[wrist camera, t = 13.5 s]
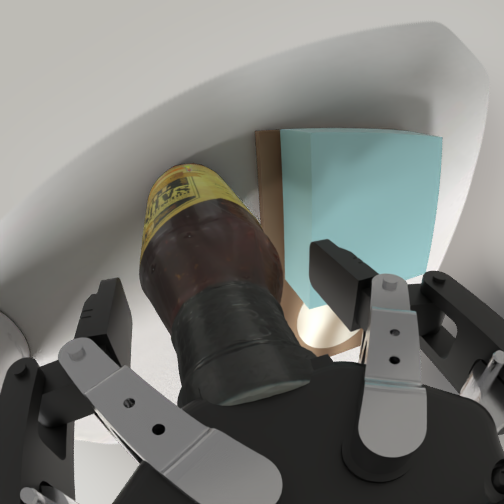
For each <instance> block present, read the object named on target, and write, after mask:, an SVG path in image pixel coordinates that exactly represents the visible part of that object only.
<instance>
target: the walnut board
mask: <svg viewBox="0 0 504 504" xmlns="http://www.w3.org/2000/svg"><path fill="white" fill-rule="evenodd" d="M255 140H256V155H257V171H258V187H259V203H260V220H261V227H262V229H263V231H264V233H265V234H266V235H267V236H268V237H269V238H270V240H271V242H272V244H273V245H274V247H275V248H276V250H277V252H278V254H279V257H280V261H281V265H282V269H283V278H284V280H283V293H282V298H281V303H280V305H281V307H282V309H283V312H284V317H285V320H286V321H287V323H288V325H289V327H290V328H291V330H292V331H293V333H294V334H295V337H296V338H297V340H298V341H299V344H300V345H301V346H302V347H304V348H306V349H308V350H310V351H312V352H313V353H314V354H315V355H316V356H317V357H319V356H322V355H325V354H328V355H329V356H333V355H336V354H339V353H342V352H344V351H347V350H350V349H352V348H355V347H358V346H360V345H361V340H362V334H363V329H362V328H361V329H358V330H355V331H352V332H350V331H349V329H348V328H347V327H346V326H345V325H344V324H343V322H342V321H341V320H340V319H339V318H338V316H337V315H336V314H335V313H334V312H333V311H332V309H331V308H330V307H329V306H328V305H323V306H320V307H316V308H313V309H309V308H308V307H307V306H306V305H305V303H304V302H303V301H302V300H301V298H300V297H299V296H298V295H297V293H296V292H295V291H294V290H293V288H292V287H291V286H290V285H289V283H288V282H287V281H286V280H285V249H284V211H283V182H282V158H281V138H280V130H264V131H255Z"/></svg>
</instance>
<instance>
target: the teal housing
mask: <svg viewBox="0 0 504 504" xmlns="http://www.w3.org/2000/svg"><path fill="white" fill-rule="evenodd" d="M280 138H281V158H282V182H283V211H284V249H285V280H286V281H287V282H288V283H289V285H290V286H291V287H292V288H293V290H294V291H295V292H296V293H297V295H298V296H299V297H300V298H301V300H302V301H303V302H304V303H305V305H306V306H307V307H308V308H309V309H313V308H316V307H320V306H323V305H327V304H326V302H325V301H324V300H323V299H322V298H321V297H320V295H319V294H318V293H317V292H316V291H315V290H314V289H313V287H312V285H311V283H310V280H309V247H310V243H311V242H313V241H319V240H324V239H329V240H330V241H332V242H333V243H334V244H335V245H337V246H338V247H339V248H340V247H341V248H343V249H346V250H348V251H351V252H352V253H353V254H354V255H356V256H357V257H358V258H360V259H361V260H362V261H363V263H364V262H365V263H366V264H367V265H369V266H370V267H371V268H372V269H374V270H375V271H376V272H377V273H379V274H385V273H387V274H394V275H397V276H400V277H401V278H403V279H404V280H407V279H410V278H413V277H416V276H419V275H422V274H424V273H426V268H427V263H428V258H429V253H430V248H431V242H432V237H433V231H434V224H435V218H436V210H437V202H438V194H439V184H440V173H441V158H442V137H438V136H433V135H428V134H422V133H416V132H410V131H404V130H389V129H366V128H301V129H280Z"/></svg>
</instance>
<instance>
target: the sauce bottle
mask: <svg viewBox="0 0 504 504" xmlns="http://www.w3.org/2000/svg"><path fill="white" fill-rule="evenodd" d="M139 277H140V283H141V286H142V289H143V291H144V293H145V295H146V296H147V297H148V299H149V300H150V302H151V303H152V305H153V307H154V308H155V310H156V312H157V314H158V315H159V317H160V319H161V320H162V322H163V324H164V325H165V327H166V328H167V330H168V332H169V333H170V335H171V340H172V344H173V347H174V349H175V351H176V353H177V358H178V368H179V375H180V381H181V385H182V388H181V390H180V393H179V396H178V401H177V406H178V407H179V408H180V409H181V408H182V407H184V406H185V405H187V404H188V403H190V402H192V401H194V400H196V399H199V398H200V393H201V396H202V398H203V400H204V399H207V400H208V402H210V403H212V404H216V405H222V406H232V405H238V404H242V403H246V402H252V401H256V400H259V399H263V398H267V397H271V396H273V395H276V394H281V393H284V392H287V391H290V390H293V389H296V388H299V387H301V386H304V385H306V384H308V383H309V382H310V380H311V375H312V371H313V370H314V369H313V368H312V364H311V361H310V359H313V358H316V357H317V356H316V355H315V354H314V353H313V352H312V351H310V350H308V349H306V348H304V347H302V346H301V345H300V344H299V341H298V340H297V338H296V337H295V334H294V333H293V331H292V330H291V328H290V327H289V325H288V323H287V321H286V320H285V317H284V312H283V309H282V307H281V305H280V303H281V298H282V293H283V280H284V278H283V269H282V265H281V261H280V257H279V254H278V252H277V250H276V248H275V247H274V245H273V244H272V242H271V240H270V238H269V237H268V236H267V235H266V234H265V233H264V231H263V229H262V227H261V225H260V224H259V222H258V221H257V219H256V218H255V217H254V216H253V215H252V213H251V212H250V211H249V210H248V209H247V207H246V206H245V205H244V204H243V203H242V202H241V201H240V199H239V198H238V197H237V196H236V195H235V193H234V192H233V191H232V190H231V189H230V187H229V186H228V185H227V184H226V183H225V182H224V180H223V179H222V178H221V177H220V176H219V175H218V174H217V173H216V172H214V171H212V170H210V169H209V168H207V167H205V166H203V165H200V164H195V163H190V164H182V165H178V166H173V167H172V168H170V169H169V170H168V171H166V172H165V173H164V174H163V175H162V176H161V177H160V178H158V180H157V181H156V182H155V184H154V185H153V187H152V189H151V191H150V194H149V197H148V202H147V209H146V216H145V222H144V229H143V237H142V248H141V257H140V269H139ZM198 388H199V389H200V393H199V389H198Z"/></svg>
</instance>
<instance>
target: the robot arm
mask: <svg viewBox="0 0 504 504" xmlns="http://www.w3.org/2000/svg"><path fill="white" fill-rule="evenodd" d="M309 280H310V283H311V285H312V287H313V289H314V290H315V291H316V292H317V293H318V294H319V295H320V297H321V298H322V299H323V300H324V301H325V302H326V304H327V305H328V306H329V307H330V308H331V309H332V311H333V312H334V313H335V314H336V315H337V316H338V318H339V319H340V320H341V321H342V322H343V324H344V325H345V326H346V327H347V328H348V329H349V331H350V332H352V331H355V330H358V329H361V328H362V329H363V334H362V340H361V348H360V355H359V361H358V363H356V362H346V361H339V362H333V361H332V359H331V358H330V356H329V355H328V354H325V355H322V356H319V357H316V358H313V359H310V361H311V364H312V368H313V369H314V370H313V371H312V375H311V380H310V382H309V383H308V384H306V385H304V386H301V387H299V388H296V389H293V390H290V391H287V392H284V393H281V394H276V395H273V396H271V397H267V398H263V399H259V400H256V401H252V402H246V403H242V404H238V405H232V406H222V405H216V404H212V403H210V402H208V400H207V399H204V400H203V398H202V396H201V393H200V389H199V388H198V389H199V393H200V398H199V399H196V400H194V401H192V402H190V403H188V404H187V405H185V406H184V407H182V408H181V409H180V408H179V407H178V406H176V405H175V404H174V403H172V402H171V401H170V400H168V399H167V398H166V397H164V396H163V395H162V394H161V393H159V392H158V391H157V390H156V389H154V388H153V387H152V386H151V385H149V384H148V383H147V382H146V381H145V380H143V379H142V378H141V377H140V376H139V375H137V374H136V373H135V372H134V371H133V370H132V369H131V368H130V363H131V339H132V316H131V312H130V308H129V305H128V302H127V299H126V296H125V293H124V290H123V287H122V284H121V281H120V279H119V278H113V279H107V280H102V281H101V282H100V286H99V289H98V292H97V294H92V295H91V296H90V297H89V298H88V299H87V301H86V302H85V303H84V306H83V310H82V313H81V316H80V320H79V323H78V326H77V330H76V333H75V337H74V339H73V340H71V341H69V342H68V343H66V344H65V345H64V346H63V347H62V348H61V349H60V351H59V354H58V360H57V361H54V362H52V363H49V364H46V365H44V366H41V367H40V366H39V365H38V363H37V362H36V360H35V359H33V358H30V351H29V347H28V344H27V342H26V339H25V337H24V336H23V334H22V332H21V331H20V329H19V328H18V327H17V326H16V325H15V324H14V322H12V321H11V320H10V319H9V318H8V317H7V316H6V315H4V314H3V313H1V312H0V504H79V503H77V502H76V501H75V486H74V422H75V420H78V419H80V418H83V417H86V416H88V415H91V414H94V415H95V416H96V418H97V419H98V420H99V421H100V422H101V424H102V425H103V426H104V427H105V428H106V429H107V430H108V432H109V433H110V434H111V435H112V436H113V437H114V438H115V439H116V440H117V441H118V443H119V444H120V445H121V446H122V447H123V448H124V449H125V450H126V451H127V452H128V453H129V454H130V456H132V458H133V459H134V460H135V461H136V462H137V463H138V464H139V466H138V468H137V469H136V471H135V472H134V473H133V475H132V476H131V478H130V479H129V481H128V482H127V483H126V485H125V487H124V488H123V489H122V490H121V492H120V493H119V495H118V496H117V498H116V499H115V501H114V502H113V503H112V504H504V451H503V449H502V446H501V444H500V441H499V437H498V435H501V434H504V319H503V318H502V317H500V316H499V315H498V314H497V313H496V312H494V311H493V310H492V309H491V308H490V307H489V306H487V305H486V304H485V303H483V302H482V301H481V300H480V299H479V298H477V297H476V296H475V295H474V294H472V293H471V292H470V291H469V290H467V289H466V288H465V287H463V286H462V285H461V284H459V283H458V282H457V281H456V280H454V279H453V278H452V277H450V276H449V275H447V274H445V273H443V272H439V271H428V272H426V273H425V274H424V275H423V279H422V283H421V284H408V285H407V282H406V281H405V280H404V279H403V278H401V277H400V276H397V275H394V274H387V273H385V274H379V273H377V272H376V271H375V270H374V269H372V268H371V267H370V266H369V265H367V264H366V263H365V262H364V263H363V261H362V260H361V259H360V258H358V257H357V256H356V255H354V254H353V253H352V252H351V251H348V250H346V249H343V248H341V247H340V248H339V247H338V246H337V245H335V244H334V243H333V242H332V241H330V240H329V239H324V240H319V241H313V242H311V243H310V247H309ZM445 314H446V315H447V316H448V317H449V318H451V319H452V320H453V321H454V322H455V324H456V326H457V331H458V332H457V336H456V338H454V337H453V336H452V335H451V334H450V333H449V332H448V331H447V330H446V329H445V328H444V327H443V326H442V322H443V319H444V316H445ZM420 349H421V350H422V351H423V352H424V353H425V354H426V356H427V357H428V358H429V359H430V360H431V361H432V362H433V363H434V365H435V366H436V367H437V368H438V369H439V370H440V371H441V373H442V374H443V375H444V376H445V377H446V379H447V380H448V381H449V382H450V383H451V384H452V386H453V387H454V388H455V389H456V390H457V392H458V393H459V394H460V395H456V394H452V393H449V392H446V391H443V390H439V389H436V388H433V387H430V386H427V385H424V384H422V374H421V356H420Z"/></svg>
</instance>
